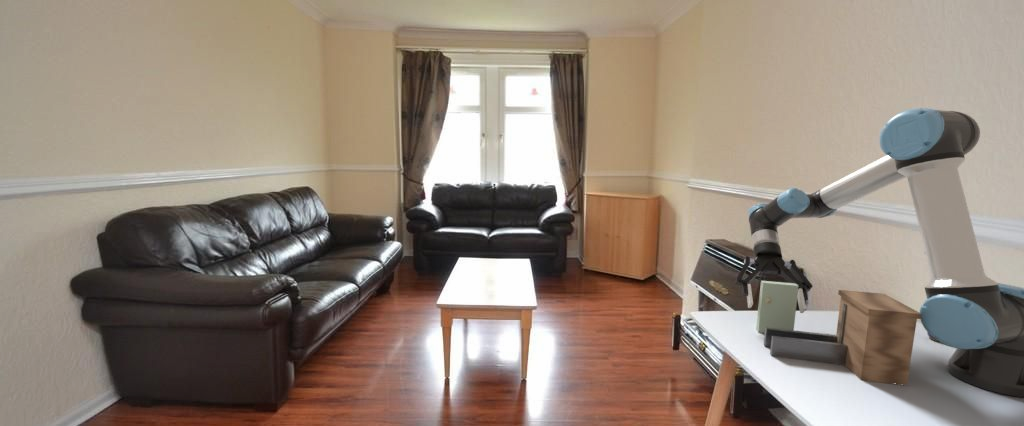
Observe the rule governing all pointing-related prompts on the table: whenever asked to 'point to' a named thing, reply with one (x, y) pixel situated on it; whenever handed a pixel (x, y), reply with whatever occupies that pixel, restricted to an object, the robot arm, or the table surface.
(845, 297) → the walnut cabinet
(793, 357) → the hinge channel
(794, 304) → the cabinet door
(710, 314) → the table surface
